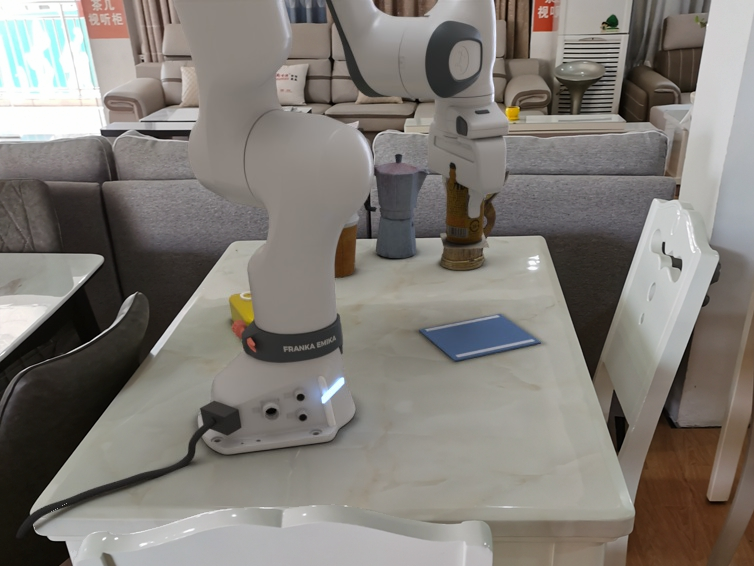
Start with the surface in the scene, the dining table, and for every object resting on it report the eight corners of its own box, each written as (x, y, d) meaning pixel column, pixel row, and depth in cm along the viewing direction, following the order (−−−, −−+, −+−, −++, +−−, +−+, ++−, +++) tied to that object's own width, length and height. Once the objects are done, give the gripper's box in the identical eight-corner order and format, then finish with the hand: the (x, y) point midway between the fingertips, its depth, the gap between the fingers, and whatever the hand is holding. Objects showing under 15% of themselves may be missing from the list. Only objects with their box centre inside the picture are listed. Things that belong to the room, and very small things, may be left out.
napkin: (455, 361, 125) (455, 359, 125) (419, 331, 136) (419, 329, 135) (540, 343, 130) (540, 341, 130) (499, 315, 140) (500, 313, 140)
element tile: (251, 347, 132) (247, 320, 129) (229, 318, 143) (225, 292, 140) (334, 331, 137) (332, 304, 134) (307, 303, 148) (304, 278, 145)
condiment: (483, 233, 131) (485, 155, 123) (489, 248, 124) (492, 167, 117) (439, 234, 131) (440, 157, 123) (443, 250, 124) (444, 169, 117)
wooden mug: (506, 269, 160) (512, 175, 149) (441, 271, 161) (441, 177, 150) (502, 256, 167) (507, 165, 156) (440, 257, 168) (440, 167, 157)
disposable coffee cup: (321, 264, 166) (316, 205, 159) (365, 265, 165) (362, 205, 158) (311, 279, 159) (306, 218, 151) (357, 280, 157) (354, 218, 150)
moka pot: (429, 259, 167) (429, 158, 155) (358, 261, 167) (352, 160, 155) (429, 246, 174) (429, 148, 162) (360, 247, 175) (355, 150, 163)
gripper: (417, 107, 123) (418, 198, 132) (475, 127, 108) (473, 230, 117) (453, 103, 125) (452, 194, 134) (515, 123, 110) (510, 224, 118)
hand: (462, 211), depth 125 cm, fingers closed on condiment, 6 cm apart
